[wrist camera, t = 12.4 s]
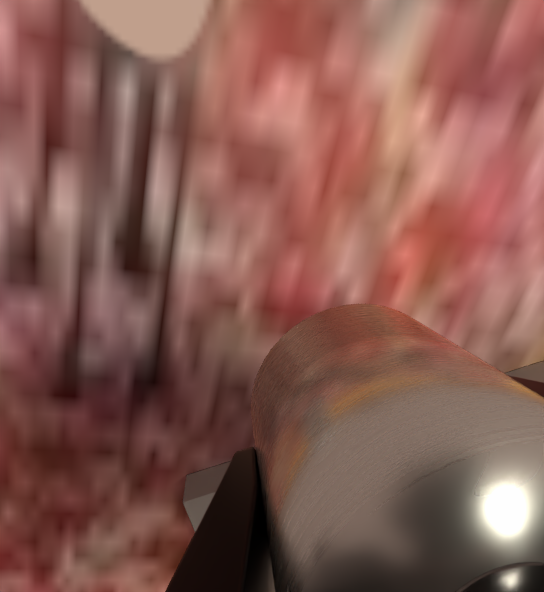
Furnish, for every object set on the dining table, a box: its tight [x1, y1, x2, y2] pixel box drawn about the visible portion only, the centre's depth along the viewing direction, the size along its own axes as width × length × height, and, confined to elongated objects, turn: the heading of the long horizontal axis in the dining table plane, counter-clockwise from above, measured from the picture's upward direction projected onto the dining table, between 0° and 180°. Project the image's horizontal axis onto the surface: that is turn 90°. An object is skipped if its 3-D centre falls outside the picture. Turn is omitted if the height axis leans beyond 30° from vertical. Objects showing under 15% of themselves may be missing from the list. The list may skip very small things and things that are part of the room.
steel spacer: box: [251, 304, 544, 592], centre depth 7 cm, size 5×5×5 cm
